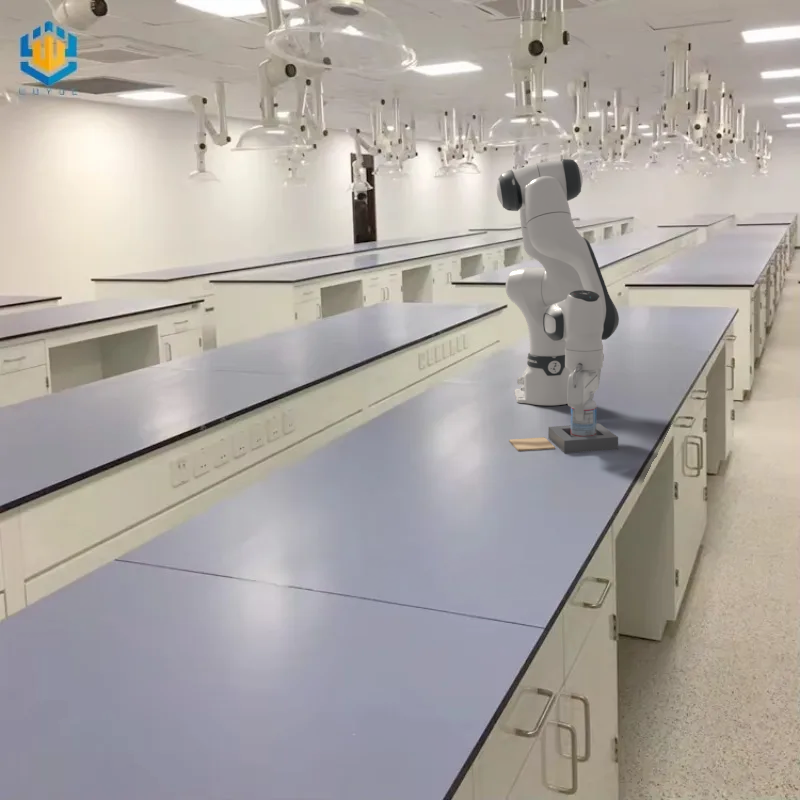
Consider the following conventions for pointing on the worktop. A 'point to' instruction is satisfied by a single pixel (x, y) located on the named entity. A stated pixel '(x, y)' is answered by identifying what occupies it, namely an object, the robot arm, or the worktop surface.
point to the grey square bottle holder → (582, 440)
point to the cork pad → (531, 444)
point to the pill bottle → (585, 420)
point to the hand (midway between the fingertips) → (583, 416)
